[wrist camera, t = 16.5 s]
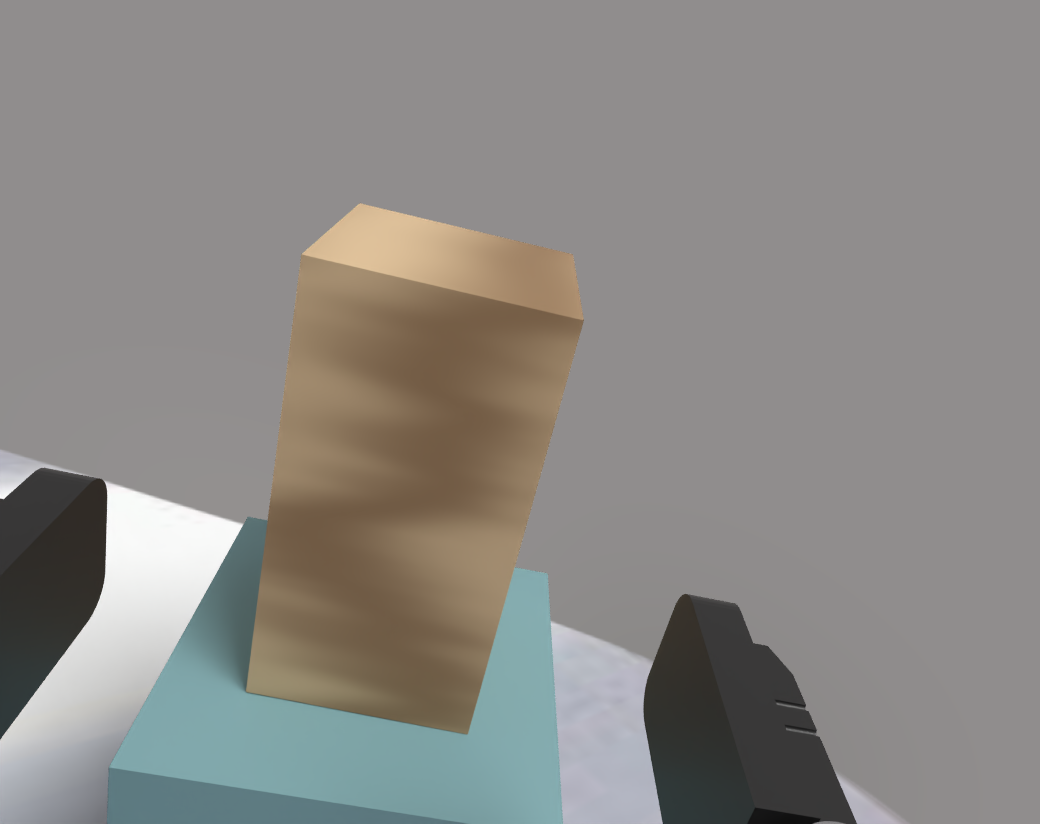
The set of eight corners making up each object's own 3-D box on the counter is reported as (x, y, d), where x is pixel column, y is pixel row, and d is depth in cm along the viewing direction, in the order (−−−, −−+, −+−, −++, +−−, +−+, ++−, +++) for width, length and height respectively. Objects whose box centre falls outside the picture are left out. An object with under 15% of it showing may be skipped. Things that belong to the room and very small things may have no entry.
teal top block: (102, 959, 18) (108, 767, 16) (230, 672, 26) (248, 516, 24) (499, 1012, 19) (563, 838, 17) (504, 719, 27) (547, 573, 25)
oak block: (245, 691, 18) (301, 254, 14) (304, 561, 23) (359, 203, 19) (467, 734, 18) (583, 319, 14) (481, 597, 23) (572, 254, 19)
